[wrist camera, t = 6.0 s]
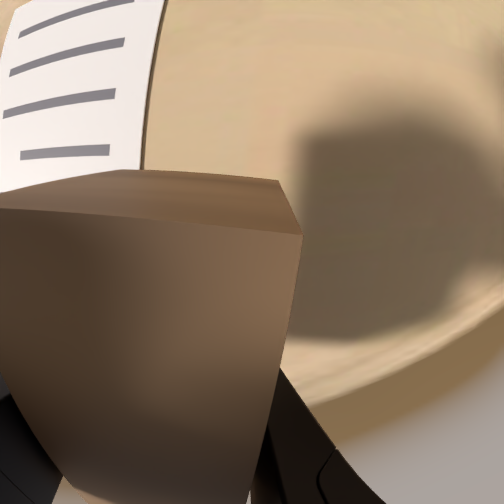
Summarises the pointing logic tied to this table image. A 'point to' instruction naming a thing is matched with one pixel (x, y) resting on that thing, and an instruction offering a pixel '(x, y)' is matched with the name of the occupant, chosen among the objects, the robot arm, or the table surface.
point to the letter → (74, 88)
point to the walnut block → (147, 327)
